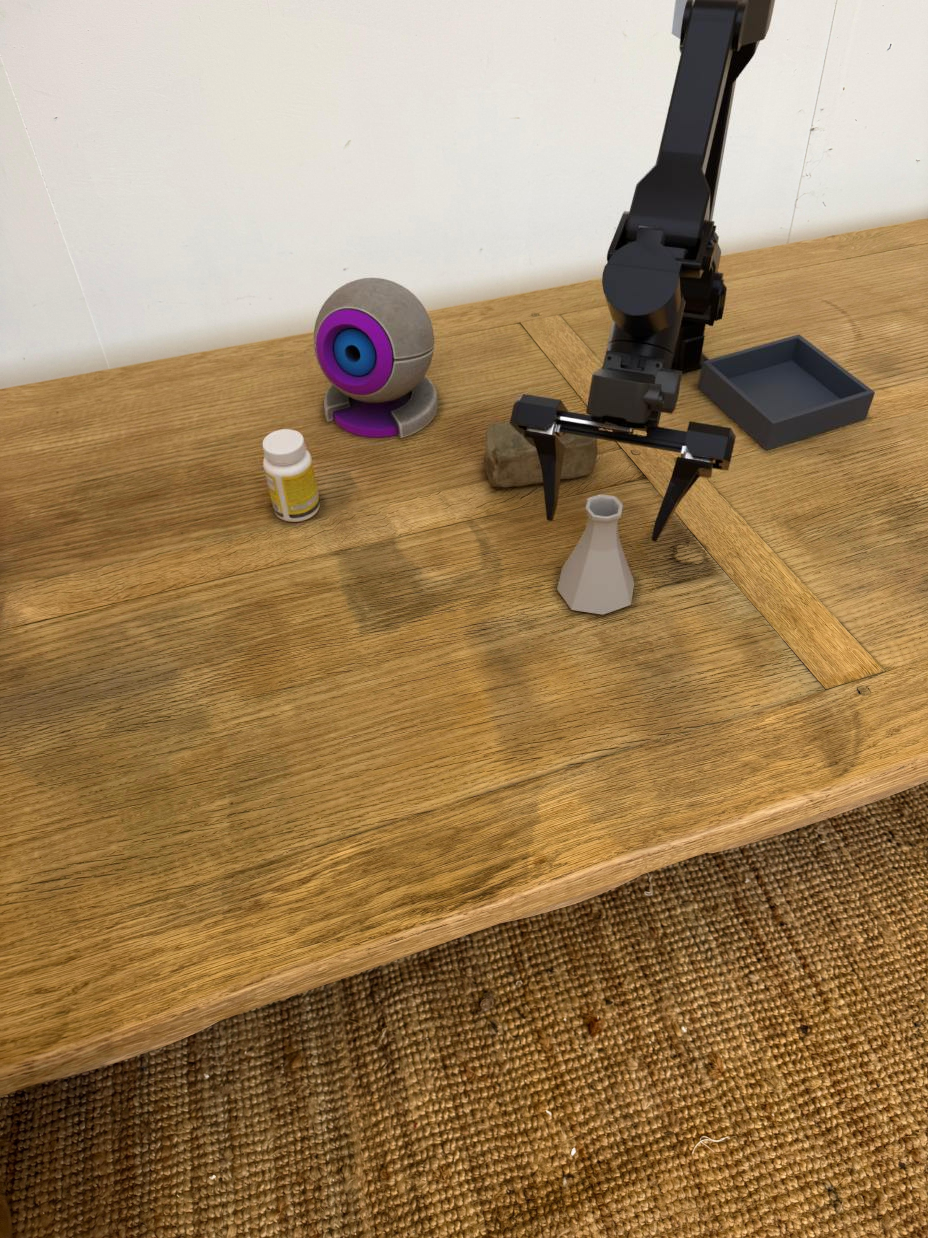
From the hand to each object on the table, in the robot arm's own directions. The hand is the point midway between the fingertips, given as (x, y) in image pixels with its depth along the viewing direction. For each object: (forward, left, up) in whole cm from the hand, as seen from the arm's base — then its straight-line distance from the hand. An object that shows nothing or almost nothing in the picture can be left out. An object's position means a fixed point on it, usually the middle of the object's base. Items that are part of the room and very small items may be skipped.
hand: (600, 530), depth 81 cm
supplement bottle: (-23, -22, -8) cm, 33 cm away
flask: (0, 0, -8) cm, 8 cm away
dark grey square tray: (-17, +33, -7) cm, 38 cm away
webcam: (-36, -8, -8) cm, 38 cm away
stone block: (-18, +3, -8) cm, 20 cm away
